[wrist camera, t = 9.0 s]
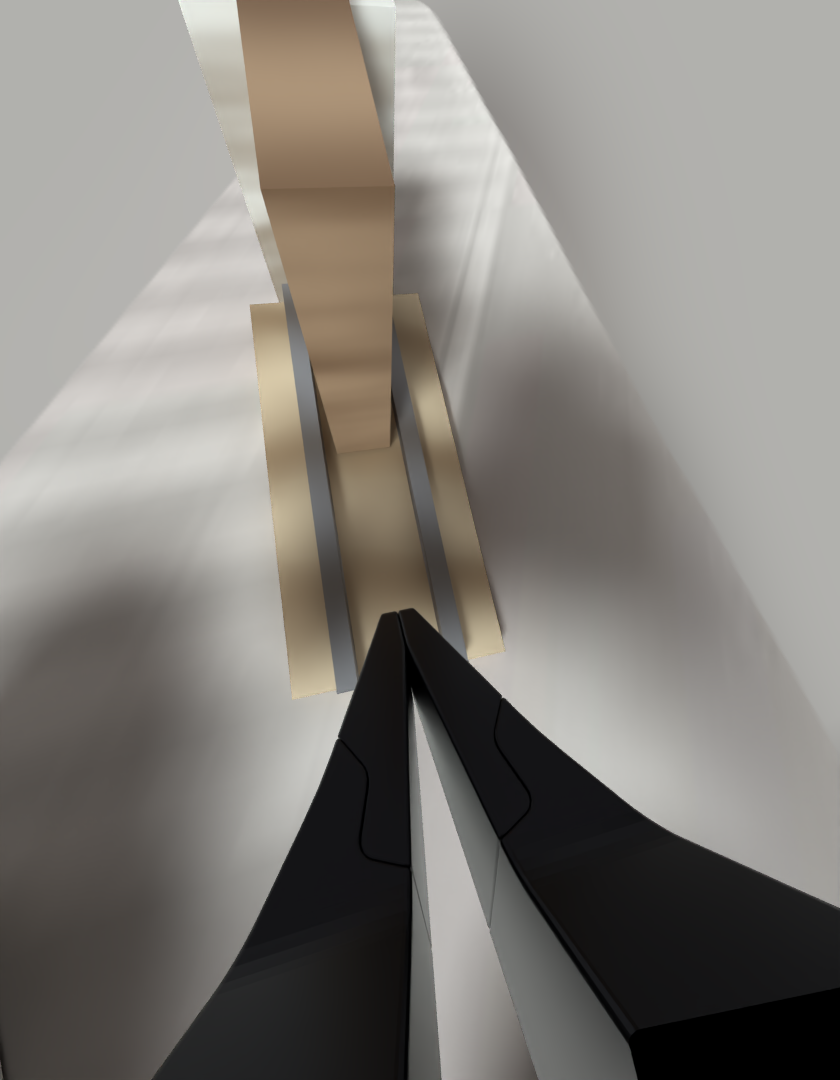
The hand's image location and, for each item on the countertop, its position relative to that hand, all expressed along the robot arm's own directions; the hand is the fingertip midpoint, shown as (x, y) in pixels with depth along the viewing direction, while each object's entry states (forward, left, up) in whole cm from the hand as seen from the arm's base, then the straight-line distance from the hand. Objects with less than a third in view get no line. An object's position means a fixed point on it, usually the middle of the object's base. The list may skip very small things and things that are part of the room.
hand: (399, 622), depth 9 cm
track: (+8, -3, -7) cm, 11 cm away
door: (+12, -4, -6) cm, 14 cm away
